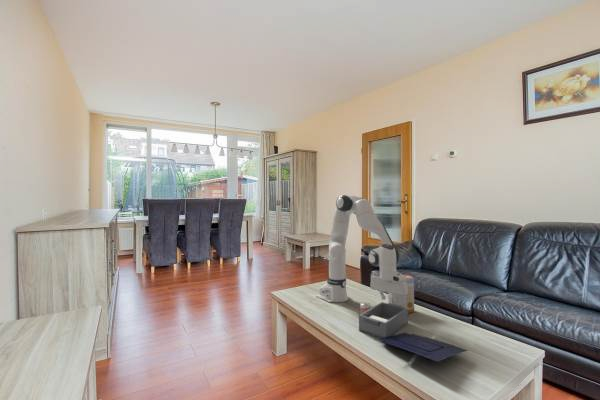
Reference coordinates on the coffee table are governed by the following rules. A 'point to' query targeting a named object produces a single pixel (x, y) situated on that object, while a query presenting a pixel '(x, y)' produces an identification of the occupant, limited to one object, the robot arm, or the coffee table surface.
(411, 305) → the cracker box
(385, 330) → the tote
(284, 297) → the coffee table surface
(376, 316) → the cream block
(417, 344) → the dark navy flat panel
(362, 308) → the jar with white lid
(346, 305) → the coffee table surface
